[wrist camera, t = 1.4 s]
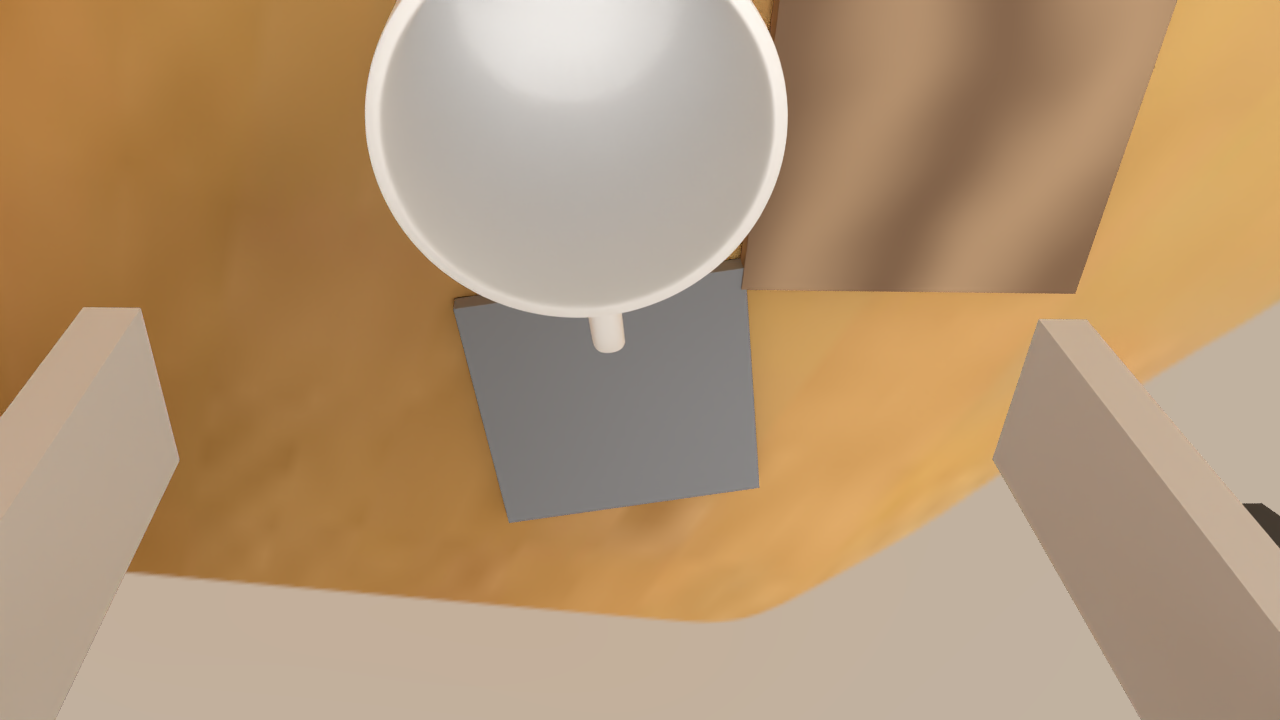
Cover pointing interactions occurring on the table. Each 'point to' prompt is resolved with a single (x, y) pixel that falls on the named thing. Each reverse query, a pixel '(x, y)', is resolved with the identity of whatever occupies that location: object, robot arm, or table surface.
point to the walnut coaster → (949, 141)
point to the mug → (576, 145)
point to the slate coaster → (616, 401)
